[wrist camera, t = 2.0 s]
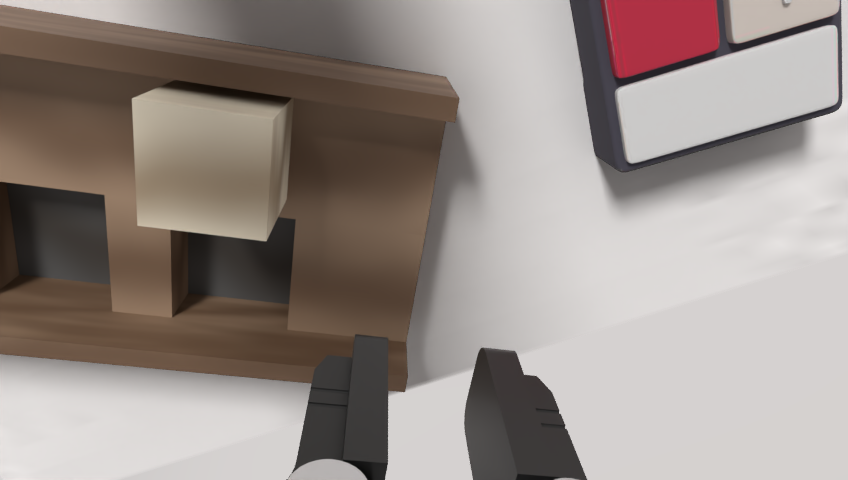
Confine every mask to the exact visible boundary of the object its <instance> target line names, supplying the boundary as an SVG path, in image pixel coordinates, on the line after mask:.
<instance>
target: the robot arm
mask: <svg viewBox="0 0 848 480" xmlns="http://www.w3.org/2000/svg"><path fill="white" fill-rule="evenodd" d="M464 424H465V435H466V440H467V447H468V452H469V458H470V464H471V470H472V476H473V480H587V479H586V476H585V473H584V471H583V468H582V466H581V463H580V461H579V459H578V456H577V454H576V451H575V449H574V446H573V444H572V441H571V439H570V436H569V434H568V431H567V429H565V424H564V421H563V419H562V416H561V414H559V409H558V406H557V404H556V401H555V399H554V396H553V394H552V392H551V391H550V390H549V389H548V388H547V387H546V386H545V385H544V383H543V382H542V381H541V380H540V379H539V378H538V377H537V376H530V375H524V374H523V371H522V368H521V365H520V362H519V359H518V356H517V354H516V352H515V351H509V350H500V349H491V348H481V349H480V351H479V353H478V357H477V361H476V365H475V369H474V373H473V377H472V381H471V385H470V389H469V394H468V398H467V402H466V409H465V422H464ZM387 465H388V337H378V336H369V335H359V334H355V337H354V344H353V352H352V357H343V356H333V355H327V356H326V357H325V358H324V359H323V361H322V362H321V363H320V364H319V365H318V366H317V367H316V368H315V369H314V375H313V380H312V385H311V391H310V395H309V400H308V406H307V410H306V415H305V420H304V425H303V431H302V436H301V441H300V446H299V451H298V456H297V461H296V465H295V468H294V470H293V472H292V474H291V475H290V476H289V478H288V479H287V480H385V475H386V470H387Z"/></svg>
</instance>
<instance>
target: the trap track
mask: <svg viewBox="0 0 848 480" xmlns="http://www.w3.org/2000/svg"><path fill="white" fill-rule="evenodd" d="M174 80H179V81H186V82H192V83H199V84H205V85H212V86H219V87H225V88H232V89H238V90H245V91H251V92H258V93H264V94H271V95H278V96H284V97H291V98H294V103H293V118H292V132H291V146H290V161H289V175H288V190H287V200H286V202H285V204H284V206H283V208H282V210H281V212H280V214H279V216H278V218H277V220H276V222H275V225H274V227H273V229H272V231H271V233H270V235H269V237H268V239H267V241H259V240H251V239H242V238H234V237H226V236H218V235H210V234H202V233H193V232H185V231H177V230H169V229H161V228H153V227H144V226H137V204H136V182H135V159H134V137H133V115H132V98H134V97H137V96H139V95H141V94H144V93H146V92H148V91H151V90H153V89H155V88H158V87H160V86H162V85H165V84H167V83H169V82H172V81H174ZM458 103H459V97H458V95H457V94H456V92H455V90H454V89H453V87H452V86H451V84H450V83H449V81H448V79H447V78H446V77H443V76H437V75H431V74H425V73H419V72H413V71H406V70H400V69H394V68H388V67H382V66H375V65H369V64H363V63H357V62H351V61H345V60H338V59H332V58H326V57H320V56H314V55H308V54H301V53H295V52H289V51H283V50H277V49H271V48H264V47H258V46H252V45H246V44H240V43H233V42H227V41H221V40H215V39H209V38H203V37H196V36H190V35H184V34H178V33H172V32H166V31H159V30H153V29H147V28H141V27H135V26H128V25H122V24H116V23H110V22H104V21H98V20H91V19H85V18H79V17H73V16H67V15H61V14H54V13H48V12H42V11H36V10H30V9H24V8H17V7H11V6H5V5H0V354H6V355H17V356H28V357H38V358H49V359H59V360H70V361H81V362H91V363H102V364H112V365H123V366H134V367H144V368H155V369H165V370H176V371H187V372H197V373H208V374H218V375H229V376H240V377H250V378H261V379H271V380H282V381H293V382H303V383H312V380H313V375H314V369H315V368H316V367H317V366H318V365H319V364H320V363H321V362H322V361H323V359H324V358H325V357H326V356H327V355H333V356H343V357H352V352H353V344H354V337H355V334H359V335H369V336H378V337H388V391H399V392H405V389H406V383H407V378H408V371H407V349H406V340H407V335H408V329H409V324H410V318H411V312H412V307H413V301H414V296H415V290H416V284H417V279H418V273H419V268H420V262H421V257H422V251H423V245H424V240H425V234H426V229H427V223H428V217H429V212H430V206H431V201H432V195H433V190H434V184H435V178H436V173H437V167H438V162H439V156H440V150H441V145H442V139H443V134H444V128H445V123H446V121H448V122H455V119H456V114H457V109H458Z"/></svg>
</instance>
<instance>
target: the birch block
mask: <svg viewBox="0 0 848 480" xmlns="http://www.w3.org/2000/svg"><path fill="white" fill-rule="evenodd" d="M293 103H294V98H291V97H284V96H278V95H271V94H264V93H258V92H251V91H245V90H238V89H232V88H225V87H219V86H212V85H205V84H199V83H192V82H186V81H179V80H174V81H172V82H169V83H167V84H165V85H162V86H160V87H158V88H155V89H153V90H151V91H148V92H146V93H144V94H141V95H139V96H137V97H134V98H132V115H133V137H134V159H135V182H136V204H137V226H144V227H153V228H161V229H169V230H177V231H185V232H193V233H202V234H210V235H218V236H226V237H234V238H242V239H251V240H259V241H267V239H268V237H269V235H270V233H271V231H272V229H273V227H274V225H275V222H276V220H277V218H278V216H279V214H280V212H281V210H282V208H283V206H284V204H285V202H286V200H287V190H288V175H289V161H290V146H291V132H292V118H293Z"/></svg>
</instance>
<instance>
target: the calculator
mask: <svg viewBox="0 0 848 480" xmlns="http://www.w3.org/2000/svg"><path fill="white" fill-rule="evenodd" d="M570 3H571V9H572V14H573V20H574V25H575V31H576V37H577V42H578V48H579V53H580V59H581V64H582V70H583V77H584V81H583V86H584V93H585V99H586V105H587V111H588V117H589V123H590V129H591V135H592V141H593V147H594V152H595V154H596V155H597V156H598V157H599V158H601V159H602V160H603V161H605V162H606V163H608V164H609V165H611V166H612V167H614V168H615V169H617V170H618V171H620V172H629V171H632V170H636V169H639V168H643V167H646V166H650V165H653V164H657V163H660V162H664V161H667V160H670V159H674V158H677V157H681V156H684V155H688V154H691V153H695V152H698V151H702V150H705V149H709V148H712V147H715V146H719V145H722V144H726V143H729V142H733V141H736V140H740V139H743V138H747V137H750V136H754V135H757V134H760V133H764V132H767V131H771V130H774V129H778V128H781V127H785V126H788V125H792V124H795V123H799V122H802V121H805V120H809V119H812V118H816V117H819V116H823V115H826V114H829V113H833V112H835V111H836V110H838V109H839V108H840V106H841V104H842V36H841V0H570Z"/></svg>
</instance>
